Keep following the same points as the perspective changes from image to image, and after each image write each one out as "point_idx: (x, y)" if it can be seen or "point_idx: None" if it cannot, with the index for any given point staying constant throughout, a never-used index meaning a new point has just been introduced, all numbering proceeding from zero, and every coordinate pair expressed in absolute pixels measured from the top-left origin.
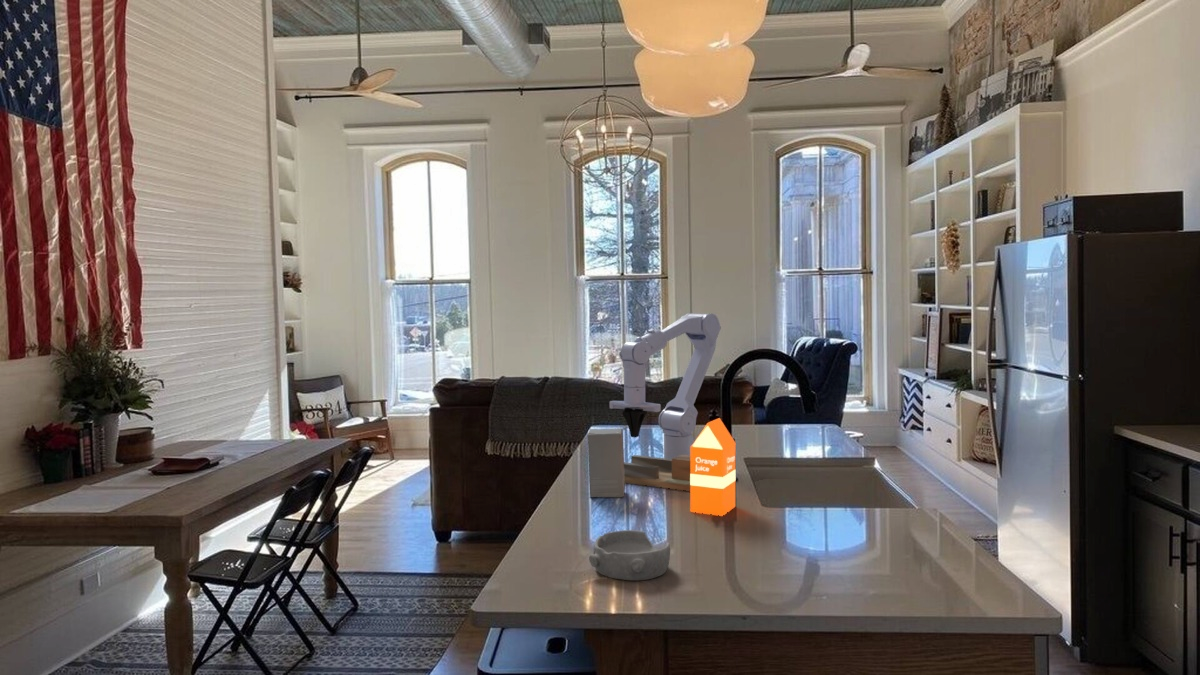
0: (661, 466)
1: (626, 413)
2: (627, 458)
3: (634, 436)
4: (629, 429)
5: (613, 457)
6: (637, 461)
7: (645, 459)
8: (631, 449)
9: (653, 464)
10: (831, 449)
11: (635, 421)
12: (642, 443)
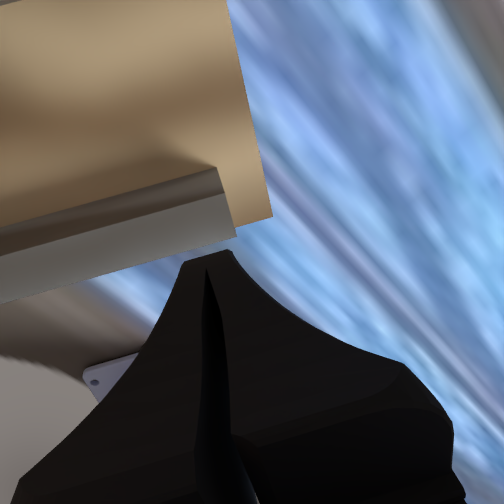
0: (8, 235)
1: (306, 408)
2: (412, 337)
3: (188, 263)
4: (245, 276)
5: None
6: (176, 194)
7: (116, 218)
8: (473, 422)
9: (63, 223)
10: None
11: (141, 374)
12: (480, 481)
